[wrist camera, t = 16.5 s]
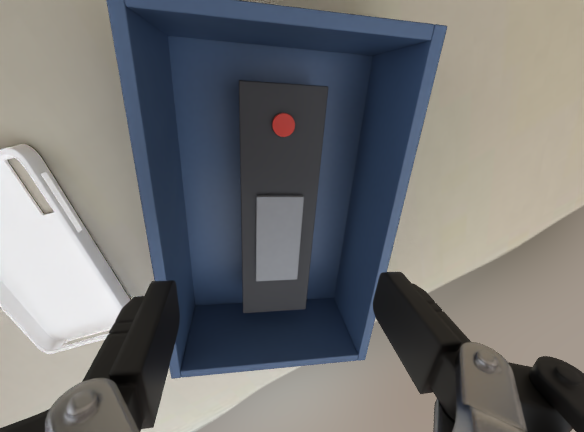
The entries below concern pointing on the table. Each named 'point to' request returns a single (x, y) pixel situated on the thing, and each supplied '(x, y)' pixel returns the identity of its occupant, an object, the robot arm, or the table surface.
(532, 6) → the table surface
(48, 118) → the table surface
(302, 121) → the remote
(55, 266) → the phone case
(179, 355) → the open blue packaging tray
